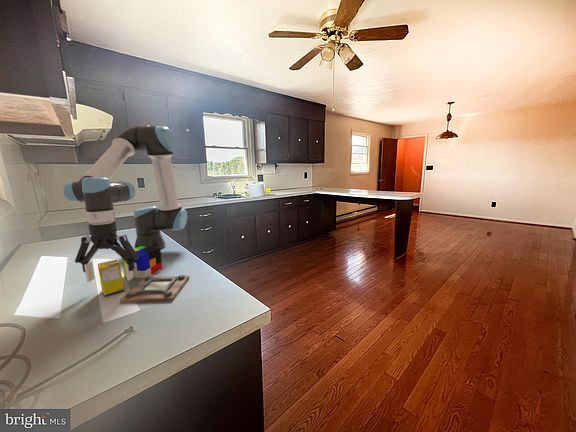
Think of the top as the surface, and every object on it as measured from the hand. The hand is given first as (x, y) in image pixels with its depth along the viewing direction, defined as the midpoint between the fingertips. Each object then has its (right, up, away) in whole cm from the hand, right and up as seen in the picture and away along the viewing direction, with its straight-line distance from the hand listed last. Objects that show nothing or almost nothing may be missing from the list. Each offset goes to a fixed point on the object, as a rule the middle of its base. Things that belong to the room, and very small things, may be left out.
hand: (110, 279), depth 86 cm
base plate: (+16, -4, +2) cm, 17 cm away
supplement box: (0, -5, +1) cm, 5 cm away
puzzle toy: (+2, -2, +17) cm, 17 cm away
